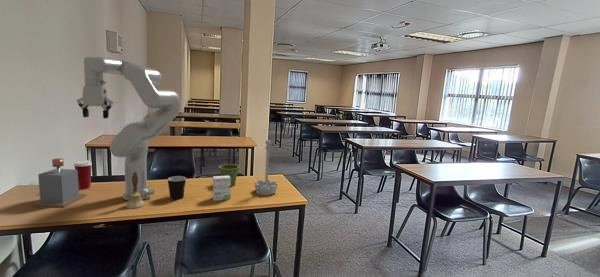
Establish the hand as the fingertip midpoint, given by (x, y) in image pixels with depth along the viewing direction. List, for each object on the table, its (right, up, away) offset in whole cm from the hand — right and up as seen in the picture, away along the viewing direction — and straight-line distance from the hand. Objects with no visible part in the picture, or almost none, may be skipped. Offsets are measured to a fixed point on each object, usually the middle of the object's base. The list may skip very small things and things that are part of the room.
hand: (95, 117), depth 149 cm
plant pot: (+60, -38, +28) cm, 77 cm away
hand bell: (+25, -42, -10) cm, 50 cm away
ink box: (+62, -42, +6) cm, 75 cm away
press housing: (-10, -40, -10) cm, 42 cm away
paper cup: (-12, -37, +9) cm, 40 cm away
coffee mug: (+40, -41, +5) cm, 57 cm away
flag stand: (+83, -41, +20) cm, 95 cm away
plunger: (-10, -38, -10) cm, 41 cm away
